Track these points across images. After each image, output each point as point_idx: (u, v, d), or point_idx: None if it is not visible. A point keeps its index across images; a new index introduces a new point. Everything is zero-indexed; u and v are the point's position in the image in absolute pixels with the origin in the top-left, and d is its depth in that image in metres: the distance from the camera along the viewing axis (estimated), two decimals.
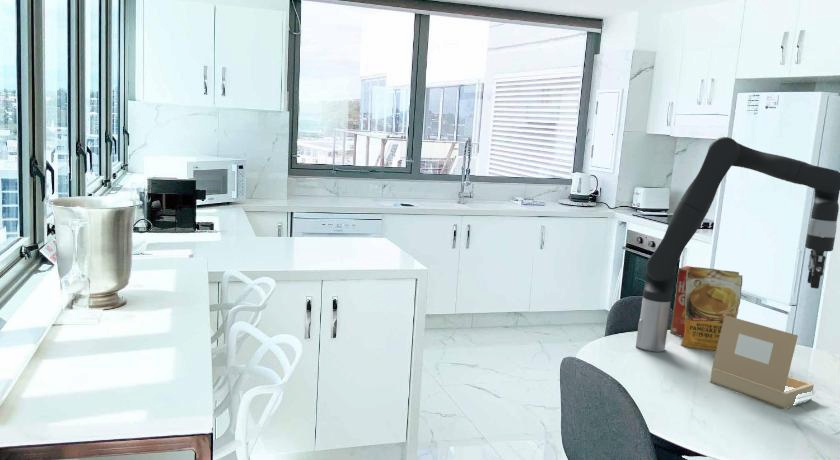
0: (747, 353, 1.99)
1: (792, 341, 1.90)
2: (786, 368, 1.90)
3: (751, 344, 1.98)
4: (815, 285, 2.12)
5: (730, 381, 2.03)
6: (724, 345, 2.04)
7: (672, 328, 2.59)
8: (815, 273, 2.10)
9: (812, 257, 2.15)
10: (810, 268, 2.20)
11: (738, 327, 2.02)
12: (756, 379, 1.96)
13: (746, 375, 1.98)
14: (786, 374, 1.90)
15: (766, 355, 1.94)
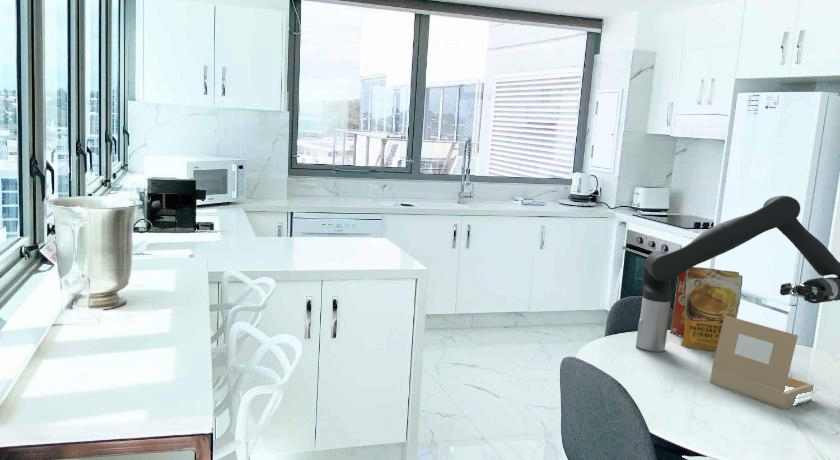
0: (747, 353, 1.99)
1: (792, 341, 1.90)
2: (786, 368, 1.90)
3: (751, 344, 1.98)
4: (810, 298, 2.04)
5: (730, 381, 2.03)
6: (724, 345, 2.04)
7: (672, 328, 2.59)
8: (823, 295, 2.05)
9: None
10: (792, 287, 2.12)
11: (738, 327, 2.02)
12: (756, 379, 1.96)
13: (746, 375, 1.98)
14: (786, 374, 1.90)
15: (766, 355, 1.94)
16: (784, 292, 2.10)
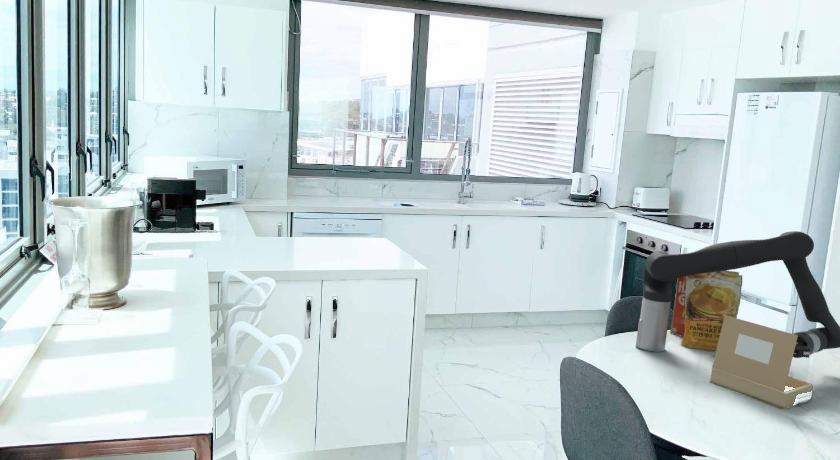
0: (747, 353, 1.99)
1: (792, 341, 1.90)
2: (786, 368, 1.90)
3: (751, 344, 1.98)
4: None
5: (730, 381, 2.03)
6: (724, 345, 2.04)
7: (672, 328, 2.59)
8: None
9: (796, 343, 2.10)
10: None
11: (738, 327, 2.02)
12: (756, 379, 1.96)
13: (746, 375, 1.98)
14: (786, 374, 1.90)
15: (766, 355, 1.94)
16: None
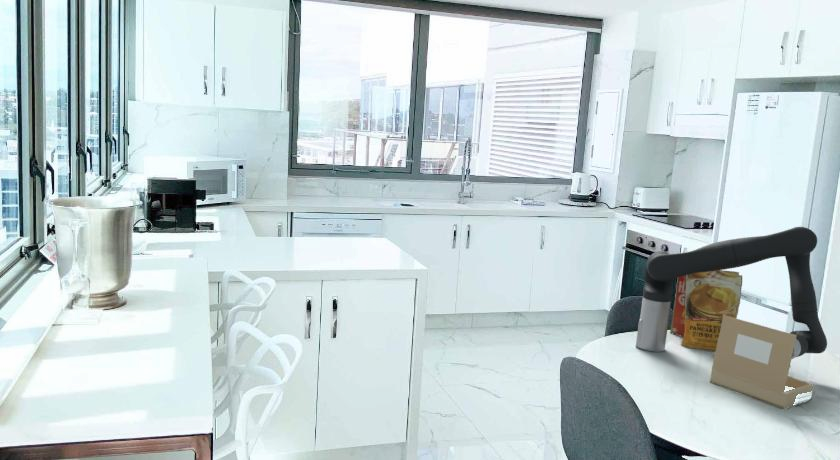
0: (747, 353, 1.99)
1: (791, 341, 1.89)
2: (785, 368, 1.90)
3: (750, 344, 1.98)
4: None
5: (730, 381, 2.03)
6: (723, 345, 2.04)
7: (672, 328, 2.59)
8: None
9: None
10: None
11: (737, 327, 2.02)
12: (756, 379, 1.96)
13: (746, 375, 1.98)
14: (786, 374, 1.90)
15: (766, 355, 1.94)
16: None
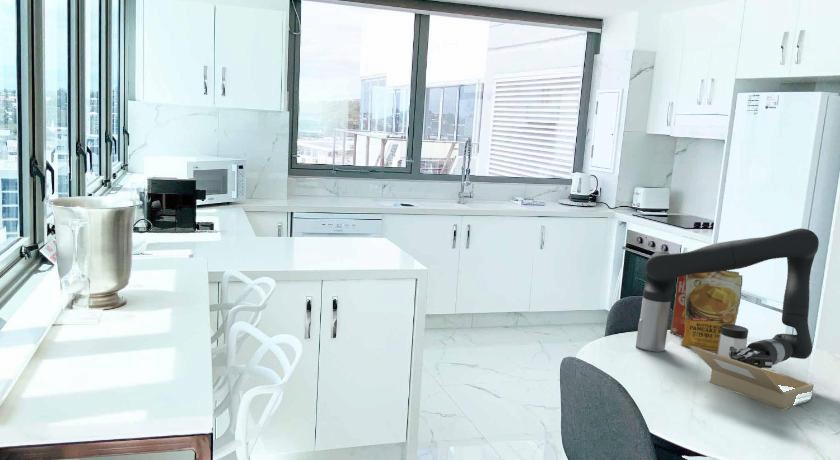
0: (732, 369, 1.95)
1: (762, 372, 1.83)
2: (772, 384, 1.87)
3: (730, 366, 1.93)
4: None
5: (730, 381, 2.03)
6: (708, 361, 2.01)
7: (672, 328, 2.59)
8: (754, 360, 1.92)
9: (758, 353, 1.96)
10: None
11: (709, 355, 1.95)
12: (755, 383, 1.95)
13: (744, 379, 1.98)
14: (776, 386, 1.87)
15: (749, 374, 1.90)
16: None
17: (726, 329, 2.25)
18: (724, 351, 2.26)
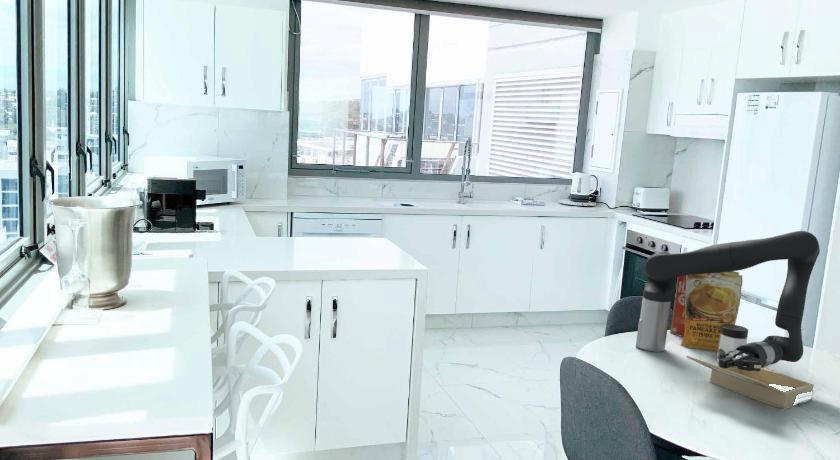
0: (731, 374, 1.95)
1: (758, 382, 1.82)
2: (771, 388, 1.87)
3: (727, 373, 1.93)
4: (728, 365, 1.88)
5: (730, 381, 2.03)
6: (707, 366, 2.01)
7: (672, 328, 2.59)
8: (742, 362, 1.89)
9: (747, 356, 1.92)
10: (731, 357, 1.92)
11: (705, 364, 1.95)
12: (755, 384, 1.95)
13: (744, 380, 1.98)
14: (775, 390, 1.87)
15: (747, 380, 1.90)
16: None
17: (726, 329, 2.25)
18: None
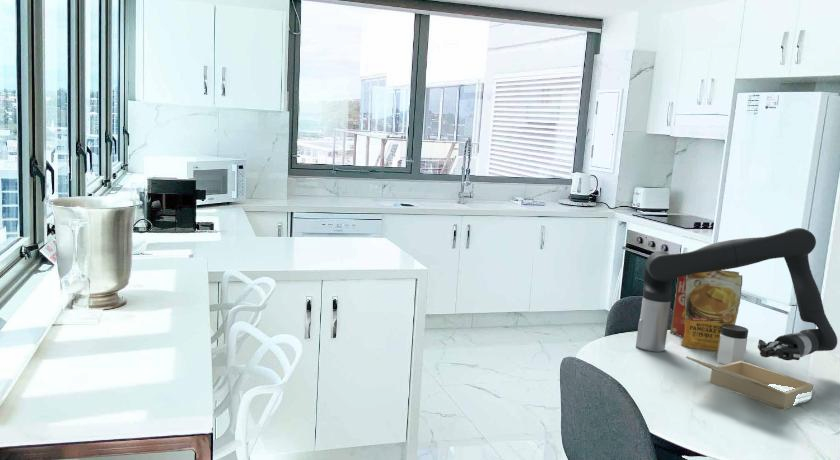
0: (731, 374, 1.95)
1: (758, 383, 1.82)
2: (771, 389, 1.87)
3: None
4: (769, 354, 2.01)
5: (730, 381, 2.03)
6: (707, 366, 2.01)
7: (672, 328, 2.59)
8: (783, 352, 2.02)
9: (787, 346, 2.06)
10: (772, 347, 2.05)
11: (705, 365, 1.95)
12: (755, 384, 1.95)
13: (744, 380, 1.98)
14: (775, 390, 1.87)
15: (747, 380, 1.90)
16: None
17: (726, 329, 2.25)
18: (724, 351, 2.26)
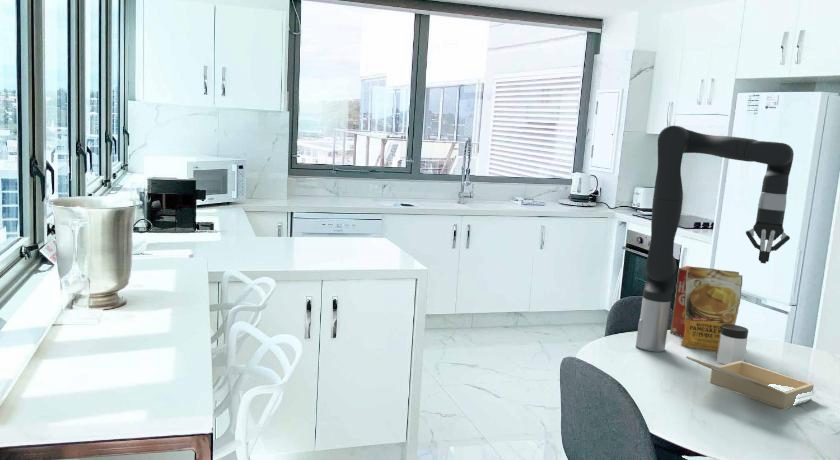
0: (731, 374, 1.95)
1: (758, 383, 1.82)
2: (771, 389, 1.87)
3: None
4: None
5: (730, 381, 2.03)
6: (707, 366, 2.01)
7: (672, 328, 2.59)
8: None
9: (774, 233, 2.14)
10: (764, 246, 2.16)
11: (705, 365, 1.95)
12: (755, 384, 1.95)
13: (744, 380, 1.98)
14: (775, 390, 1.87)
15: (747, 380, 1.90)
16: None
17: (726, 329, 2.25)
18: (724, 351, 2.26)
